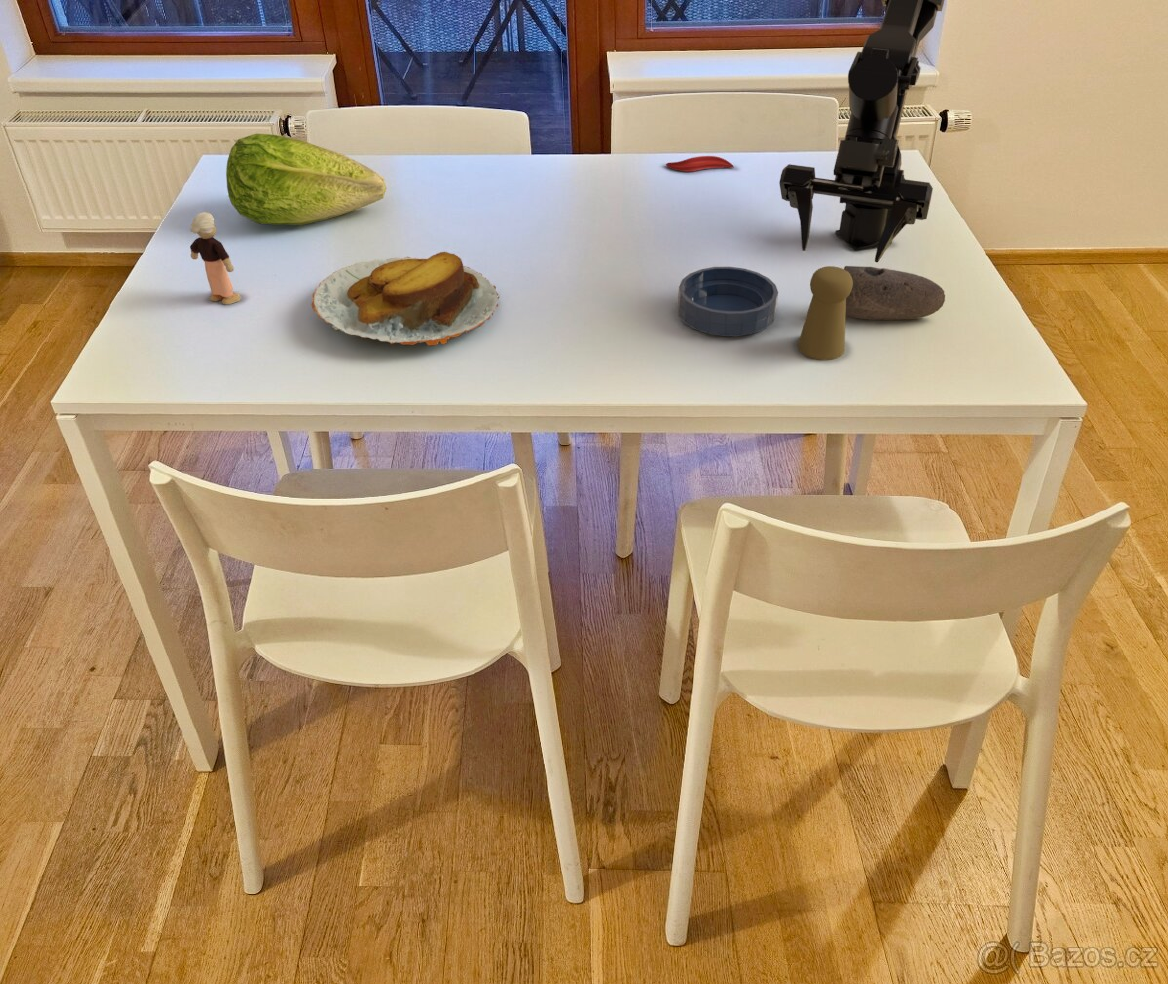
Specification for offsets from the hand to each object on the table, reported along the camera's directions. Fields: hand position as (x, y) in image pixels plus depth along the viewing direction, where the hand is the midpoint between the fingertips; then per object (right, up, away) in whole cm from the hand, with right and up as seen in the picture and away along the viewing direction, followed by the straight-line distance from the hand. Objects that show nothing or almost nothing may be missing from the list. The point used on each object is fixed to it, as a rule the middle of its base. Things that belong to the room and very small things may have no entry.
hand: (839, 255), depth 131 cm
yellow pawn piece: (-2, -11, +4) cm, 12 cm away
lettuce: (-77, +15, +36) cm, 86 cm away
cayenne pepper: (-14, +42, +40) cm, 60 cm away
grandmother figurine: (-84, -3, +15) cm, 85 cm away
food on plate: (-57, -5, +12) cm, 58 cm away
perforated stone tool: (+9, -6, +10) cm, 15 cm away
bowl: (-13, -6, +11) cm, 18 cm away
